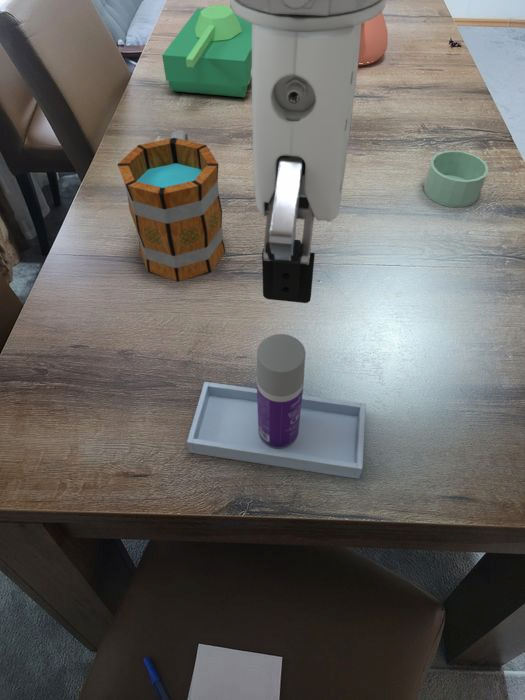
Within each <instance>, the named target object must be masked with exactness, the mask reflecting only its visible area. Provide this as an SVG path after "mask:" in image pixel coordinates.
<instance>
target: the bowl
mask: <svg viewBox="0 0 525 700" xmlns="http://www.w3.org/2000/svg"><path fill="white" fill-rule="evenodd" d="M489 171H490V170H489V165H488V163H487V162H486V161H485V160H484V159H483V158H481V157H479V156H477V155H476V154H474V153H471V152H468V151H464V150H457V149H456V150H455V149H451V150H445V151H444V150H443V151H440V152H438V153H436V154H434V155H433V156H432V157H431V159H430V161H429V166H428V168H427V171H426V175H425V178H424V182H423V192H424V194H425V196H426V197H428V199H429V200H431V201H433V202H434V203H435V204H438V205H441V206H445V207H448V208H449V207H450V208H464V207H468V206H470V205H472V204H474V203H476V201H477V200H478V198H479V196H480V194H481V192H482V189H483V186H484V184H485V182H486V180H487V177H488V174H489Z"/></svg>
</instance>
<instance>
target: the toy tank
mask: <svg viewBox="0 0 525 700" xmlns="http://www.w3.org/2000/svg"><path fill="white" fill-rule="evenodd" d="M177 33H178V34H177V35H176V36H175V37H174V39H173V40H172V41H171V42H170V43H169V45H168V47H167V48H166V49H165V50H164V52H163V53H162V55H161V57H162V62H163V69H164V76H165V81H167V83H168V86H169V89H170V90H171V91H172V92H180V93H190V94H201V95H203V94H204V95H213V96H224V97H237V98H245V97H246V95H247V91H248V86H249V85H250V83H251V82H252V77H251V69H252V23H250V22H248V21H246V20H244V19H242V18H240V17H239V16H237V15H236V14H235V13H234V12H233V11H232V9H231V7H230V6H226V5H223V4H217V5H209V6H207V7H205V8H198V7H197V8H196V9H195V10H194V12H193V13H192V15H191V16H190V17H189V19H188V20H187V21H186V23H185V24H184V26H183V27H182V28H181V29H180V31H179V32H177Z"/></svg>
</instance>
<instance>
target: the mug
mask: <svg viewBox="0 0 525 700" xmlns="http://www.w3.org/2000/svg"><path fill="white" fill-rule="evenodd" d="M117 167H118V169H119V172H120V175H121V178H122V180H123V183H124V186H125V191H126V195H127V201H128V209H129V212H130V215H131V219H132V221H133V224H134V227H135V229H136V234H137V238H138V244H139V245H138V246H139V252H140V255H141V258H142V261H143V264H144V265H145V266H144V267H145V268H146V272H147V273H149V274H153V275H156V276H159V277H161V278H164V279H165V278H166V279H168V280H172V281H175V282H181V281H185V280H189V279H192V278H197V277H199V276H203V275H207V274H210V273H212V272H213V270H214V269H215V268H216V266H217V265H218V264H219V262H220V261H221V259H222V258H223V256H224V255H225V253H226V251H227V250H226V247H225V243H224V238H223V208H222V204H221V197H220V193H219V191H220V190H219V162H217V160H216V158H215V156H214V154H213V153H212V151H211V150H210V148H209V147H208V146H207V144H204V143H203V144H202V143H199V142H194V141H191V140H189V136H188V132H186V130H182V129H178V130H177V129H176V130H174V131H172V132H171V133H170V138H166V139H161V140H156V141H152V142H147V143H140V144H137V146H136V147H134V148H133V149H132V150H131V151H130V152H129V153H128V154H127V155H126V156H124V158H123V159H121V160H120V161H119V162H118V163H117Z"/></svg>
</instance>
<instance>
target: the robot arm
mask: <svg viewBox="0 0 525 700" xmlns="http://www.w3.org/2000/svg"><path fill="white" fill-rule="evenodd" d="M386 2H387V0H229V7H231V9H232V11H233V12H234V13H235V14H236V15H237V16H239V17H240V18H242V19H244V20H246V21H248V22H250V23H252V69H251V129H252V130H251V133H252V134H251V135H252V137H251V138H252V139H251V140H252V166H253V167H252V168H253V184H254V185H253V187H254V199H255V207H256V209H257V210H258V212H259V213H260V214H261V215H262V216H263V217H265V218H266V219H265V231H264V241H263V248H262V252H261V267H262V269H261V270H262V296H263V298H264V299H266V300H272V301H281V302H290V303H291V302H292V303H300V304H308V303H310V302H311V297H312V291H313V287H312V286H313V279H314V267H315V266H314V265H315V255H316V253H315V252H312V242H313V241H312V240H313V232H314V223H315V220H316V221H324V222H327V223H331V222H333V221H334V220H336V218H338V216H339V214H340V209H341V200H342V194H343V187H344V180H345V179H344V178H345V172H346V165H347V156H348V151H349V149H348V148H349V141H350V134H351V126H352V118H353V113H354V112H353V111H354V110H353V109H354V104H355V102H354V101H355V97H356V95H355V94H356V86H357V78H358V70H359V69H358V68H359V65H358V60H359V48H360V34H361V24H362V23H364V22H367V21H369V20H371V19H373V18H375V17H376V16H377V15H378V14H379V13H381V12H382V13H383V11H384V9H385V8H386ZM298 220H302V221H303V228H302V229H303V230H302V240H300V239H296V237H297V221H298Z"/></svg>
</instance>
